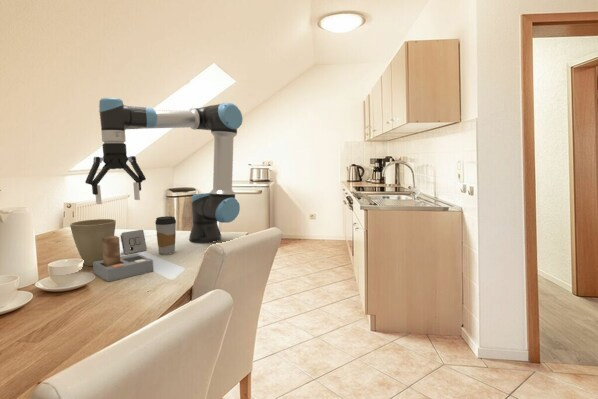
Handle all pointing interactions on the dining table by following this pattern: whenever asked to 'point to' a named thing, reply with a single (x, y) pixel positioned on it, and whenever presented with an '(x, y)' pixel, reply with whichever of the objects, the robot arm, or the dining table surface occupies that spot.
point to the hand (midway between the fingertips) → (118, 201)
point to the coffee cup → (166, 234)
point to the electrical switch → (133, 241)
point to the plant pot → (91, 238)
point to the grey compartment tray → (123, 267)
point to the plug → (111, 250)
